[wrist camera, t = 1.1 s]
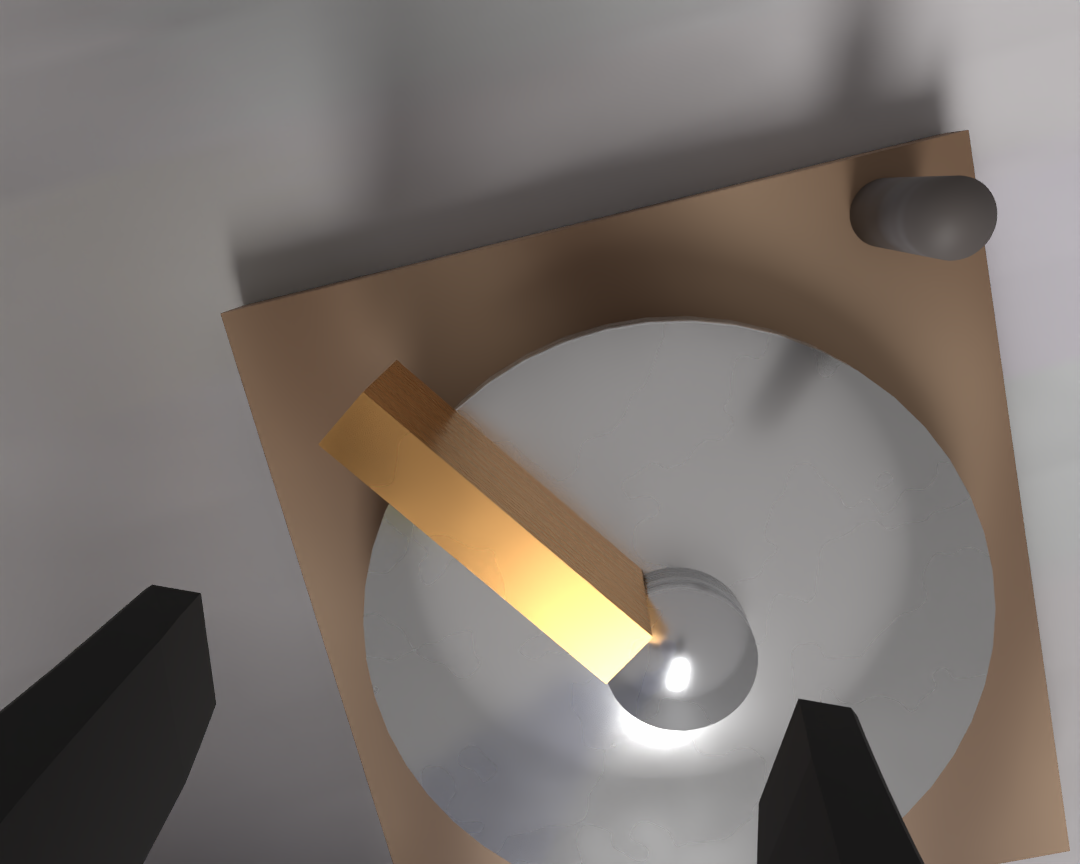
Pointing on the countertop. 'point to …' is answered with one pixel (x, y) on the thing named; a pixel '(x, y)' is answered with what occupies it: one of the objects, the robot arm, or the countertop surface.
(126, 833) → the robot arm
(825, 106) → the countertop surface
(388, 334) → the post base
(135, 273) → the countertop surface
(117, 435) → the countertop surface
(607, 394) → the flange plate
